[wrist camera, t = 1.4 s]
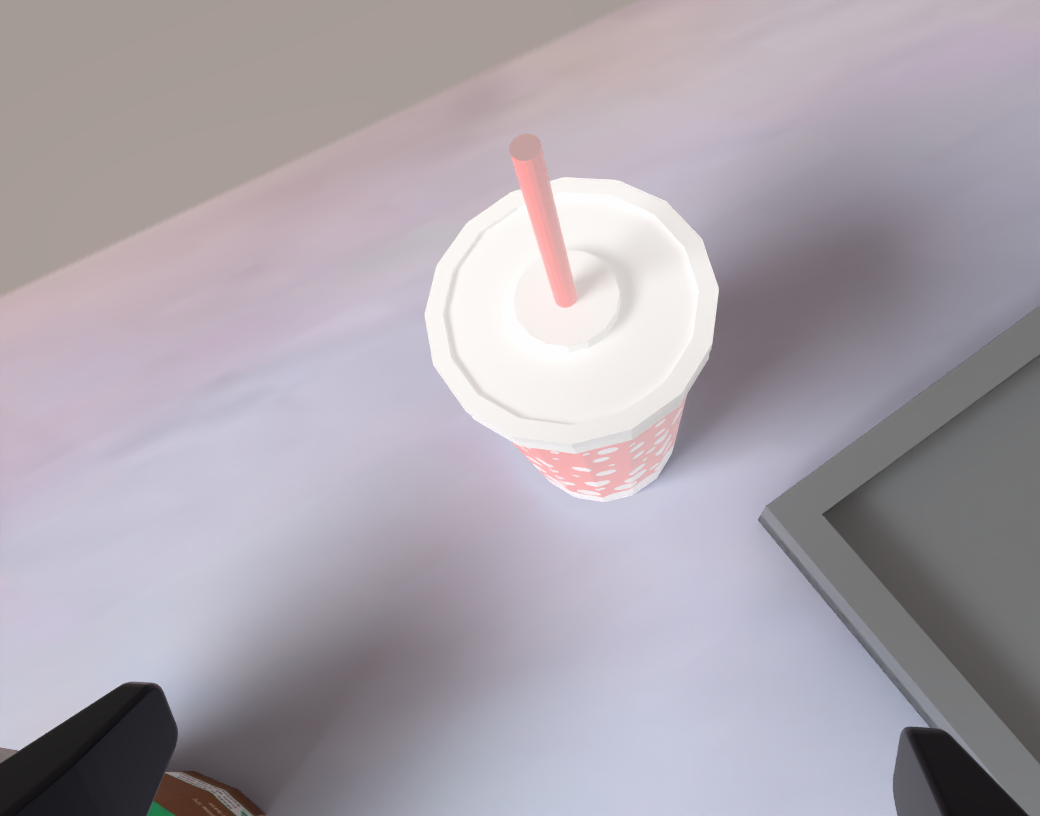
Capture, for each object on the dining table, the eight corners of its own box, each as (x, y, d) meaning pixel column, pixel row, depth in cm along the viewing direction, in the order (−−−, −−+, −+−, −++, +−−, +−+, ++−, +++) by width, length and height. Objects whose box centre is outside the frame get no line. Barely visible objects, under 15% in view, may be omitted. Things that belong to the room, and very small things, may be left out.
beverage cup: (547, 319, 26) (425, -41, 13) (727, 372, 24) (796, 18, 11) (477, 487, 24) (259, 273, 11) (663, 556, 23) (658, 397, 10)
